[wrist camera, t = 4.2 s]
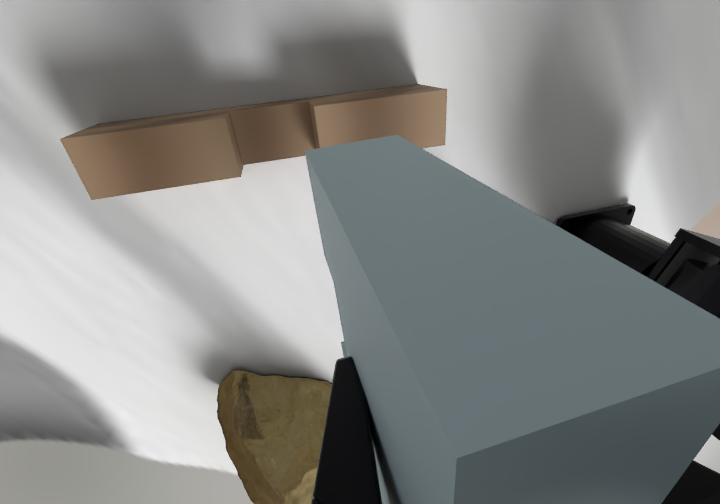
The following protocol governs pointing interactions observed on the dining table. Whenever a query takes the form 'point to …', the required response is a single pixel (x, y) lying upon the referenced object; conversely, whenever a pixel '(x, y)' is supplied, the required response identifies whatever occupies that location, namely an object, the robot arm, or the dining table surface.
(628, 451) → the blue-grey rectangular slab
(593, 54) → the dining table surface
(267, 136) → the walnut rail
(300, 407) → the rock
